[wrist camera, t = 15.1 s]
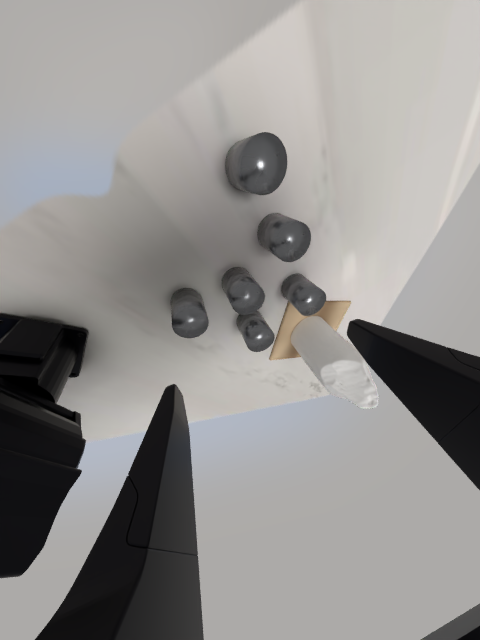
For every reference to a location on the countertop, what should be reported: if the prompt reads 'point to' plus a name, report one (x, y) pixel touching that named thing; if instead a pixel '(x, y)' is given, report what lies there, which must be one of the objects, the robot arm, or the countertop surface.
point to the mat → (292, 317)
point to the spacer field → (273, 233)
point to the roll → (335, 362)
